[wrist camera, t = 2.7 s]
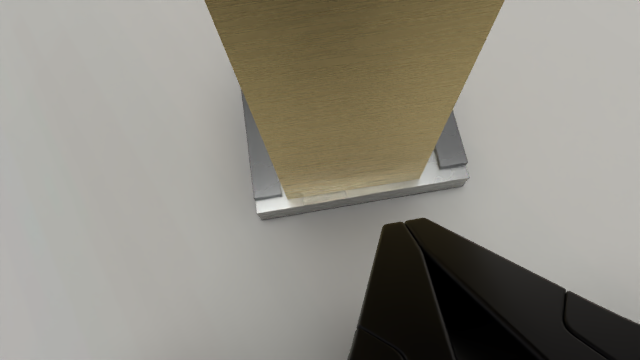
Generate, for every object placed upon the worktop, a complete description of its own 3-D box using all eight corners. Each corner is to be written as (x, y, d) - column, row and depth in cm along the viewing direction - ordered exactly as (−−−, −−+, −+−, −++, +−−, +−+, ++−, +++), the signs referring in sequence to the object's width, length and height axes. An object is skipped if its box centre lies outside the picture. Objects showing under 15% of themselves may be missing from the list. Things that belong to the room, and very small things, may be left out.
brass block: (419, 178, 17) (575, -148, 5) (287, 199, 17) (168, -85, 5) (388, 45, 19) (454, -396, 7) (269, 63, 19) (157, -350, 7)
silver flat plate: (462, 186, 18) (471, 174, 16) (261, 220, 18) (255, 211, 16) (383, -93, 23) (386, -117, 21) (227, -66, 23) (220, -90, 21)
